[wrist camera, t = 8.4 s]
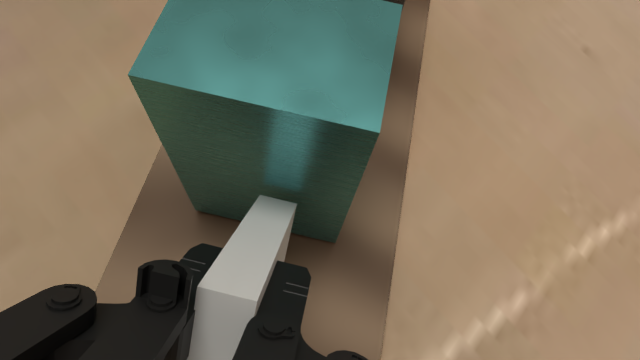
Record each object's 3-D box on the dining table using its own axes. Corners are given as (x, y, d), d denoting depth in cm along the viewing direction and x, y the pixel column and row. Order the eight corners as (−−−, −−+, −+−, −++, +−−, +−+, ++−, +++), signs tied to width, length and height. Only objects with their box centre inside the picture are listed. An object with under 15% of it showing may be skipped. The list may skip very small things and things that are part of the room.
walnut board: (354, 512, 17) (358, 519, 16) (42, 436, 17) (28, 439, 16) (430, -26, 31) (435, -38, 30) (262, -64, 31) (261, -77, 31)
